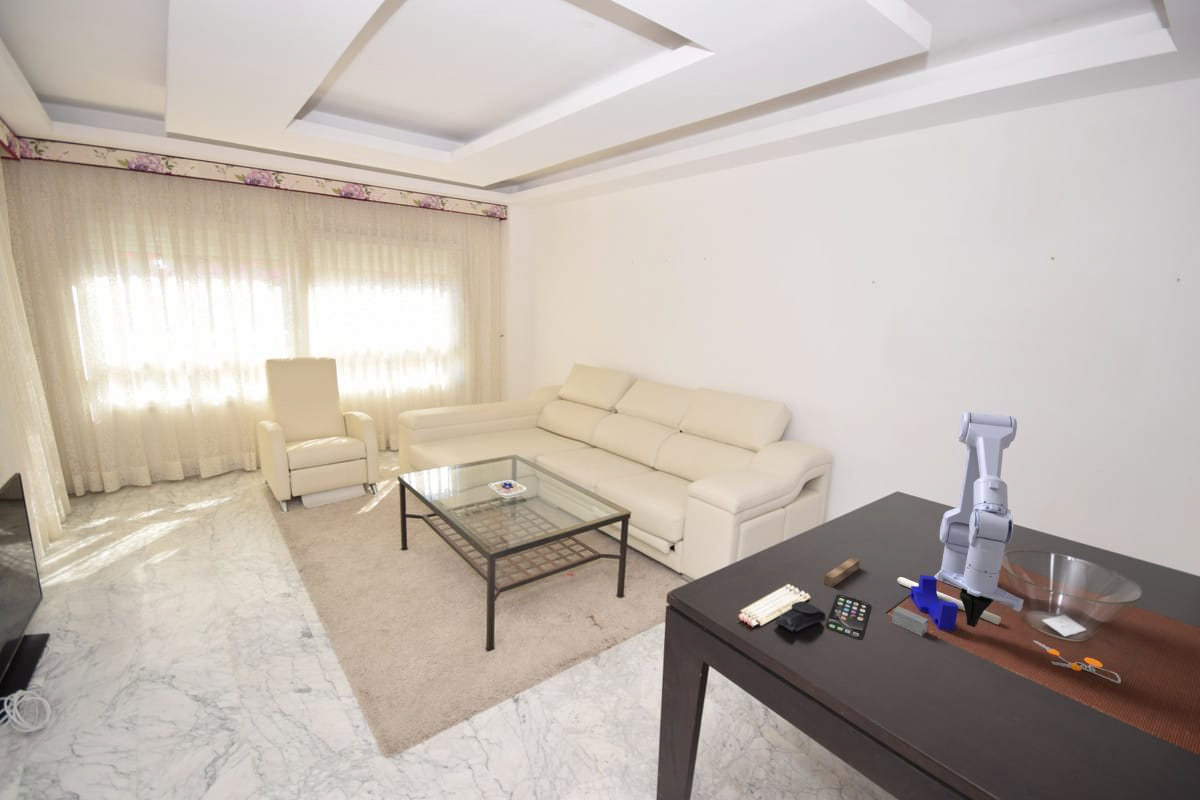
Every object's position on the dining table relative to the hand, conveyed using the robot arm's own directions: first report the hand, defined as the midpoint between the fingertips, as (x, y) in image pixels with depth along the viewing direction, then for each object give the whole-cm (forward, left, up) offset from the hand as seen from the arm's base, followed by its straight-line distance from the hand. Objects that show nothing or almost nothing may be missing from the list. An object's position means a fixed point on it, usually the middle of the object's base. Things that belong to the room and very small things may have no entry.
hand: (972, 624), depth 111 cm
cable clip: (-1, -8, -2) cm, 8 cm away
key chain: (-6, +16, -2) cm, 17 cm away
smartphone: (+15, -19, -3) cm, 24 cm away
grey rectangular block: (+9, -9, -2) cm, 13 cm away
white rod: (-8, -7, -2) cm, 11 cm away
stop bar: (0, -28, -2) cm, 28 cm away
